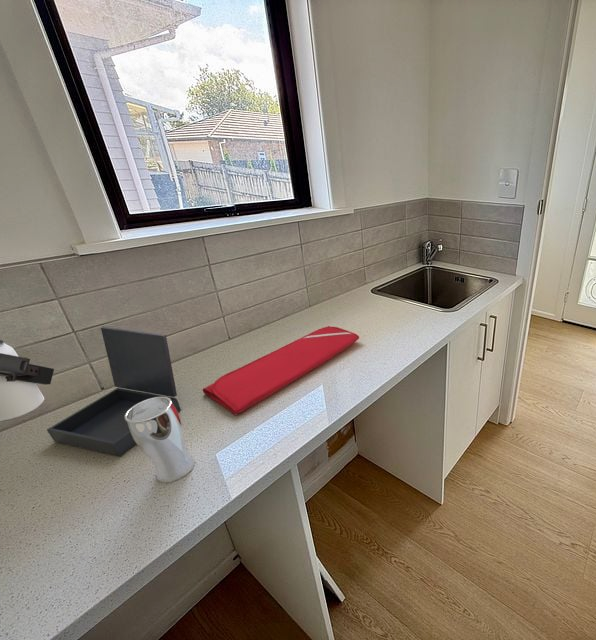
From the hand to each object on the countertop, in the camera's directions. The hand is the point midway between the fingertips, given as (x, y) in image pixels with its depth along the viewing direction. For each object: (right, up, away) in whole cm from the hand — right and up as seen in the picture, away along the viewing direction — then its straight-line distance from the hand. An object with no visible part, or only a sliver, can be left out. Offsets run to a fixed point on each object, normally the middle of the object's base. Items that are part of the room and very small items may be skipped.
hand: (25, 378), depth 58 cm
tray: (+1, -13, +17) cm, 22 cm away
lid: (+3, 0, +19) cm, 19 cm away
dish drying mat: (+30, -3, +38) cm, 49 cm away
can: (+1, -5, -1) cm, 5 cm away
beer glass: (+21, -19, +7) cm, 29 cm away
